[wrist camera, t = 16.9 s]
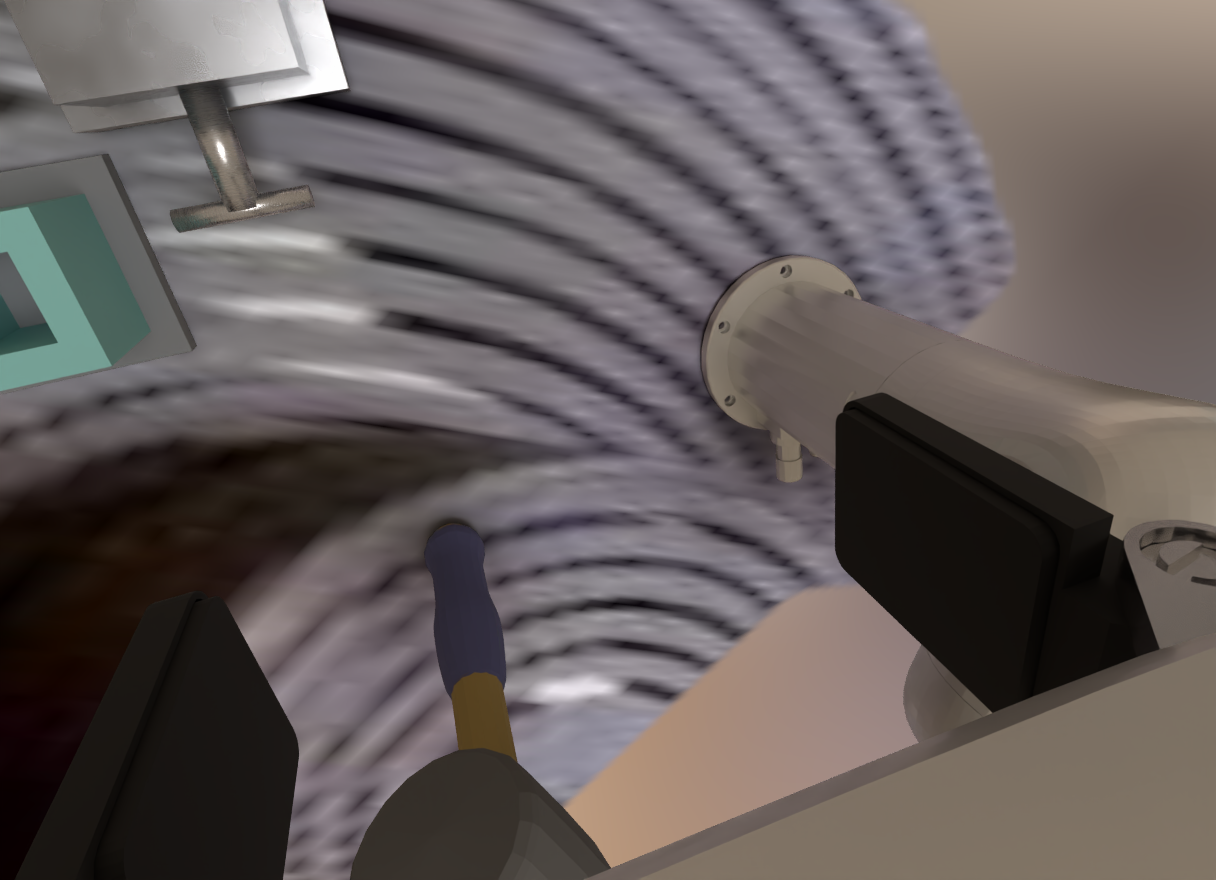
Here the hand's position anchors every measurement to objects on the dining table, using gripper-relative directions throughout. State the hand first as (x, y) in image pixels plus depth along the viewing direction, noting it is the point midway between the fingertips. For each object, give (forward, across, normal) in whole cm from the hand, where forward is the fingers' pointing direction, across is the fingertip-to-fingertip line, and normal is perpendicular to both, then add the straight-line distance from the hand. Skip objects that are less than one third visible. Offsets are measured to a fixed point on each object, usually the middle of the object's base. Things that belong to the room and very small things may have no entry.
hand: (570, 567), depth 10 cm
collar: (+32, +19, -2) cm, 37 cm away
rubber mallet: (+34, +4, +20) cm, 39 cm away
